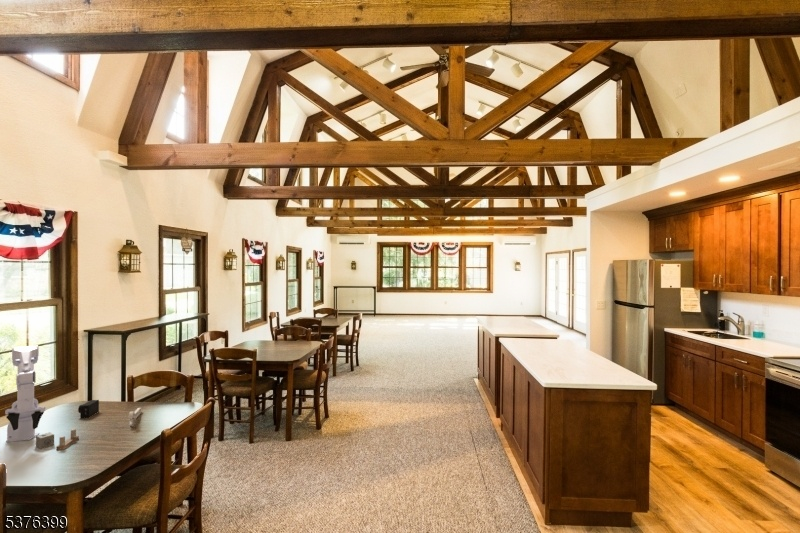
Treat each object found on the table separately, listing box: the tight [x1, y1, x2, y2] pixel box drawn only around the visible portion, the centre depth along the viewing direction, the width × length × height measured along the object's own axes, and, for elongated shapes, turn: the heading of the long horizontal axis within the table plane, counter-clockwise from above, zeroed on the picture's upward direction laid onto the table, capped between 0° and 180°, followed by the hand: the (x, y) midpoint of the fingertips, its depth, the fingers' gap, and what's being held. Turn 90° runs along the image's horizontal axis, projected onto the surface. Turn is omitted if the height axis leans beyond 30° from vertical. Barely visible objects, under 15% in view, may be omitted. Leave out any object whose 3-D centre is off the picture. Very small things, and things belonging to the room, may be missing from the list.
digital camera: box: [77, 399, 100, 419], centre depth 232 cm, size 10×5×7 cm, turn 11°
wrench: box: [127, 407, 142, 427], centre depth 224 cm, size 8×2×30 cm
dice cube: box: [35, 432, 55, 450], centre depth 191 cm, size 5×5×5 cm
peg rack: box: [55, 428, 80, 451], centre depth 193 cm, size 3×12×5 cm, turn 12°
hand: (25, 428), depth 189 cm, fingers open, 7 cm apart
